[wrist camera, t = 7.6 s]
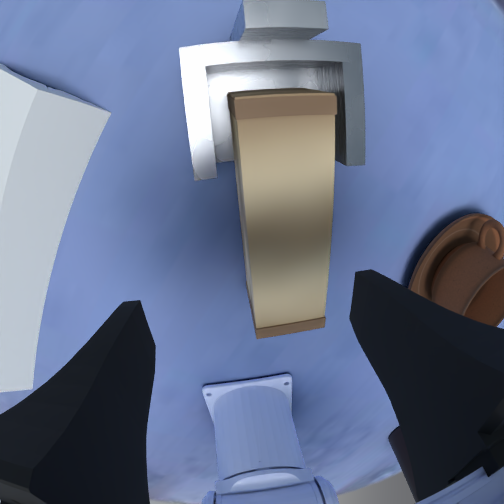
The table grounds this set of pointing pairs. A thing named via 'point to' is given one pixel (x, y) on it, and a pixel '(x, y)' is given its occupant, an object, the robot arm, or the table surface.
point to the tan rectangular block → (285, 202)
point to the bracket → (271, 77)
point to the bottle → (403, 458)
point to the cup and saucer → (465, 269)
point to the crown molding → (35, 205)
